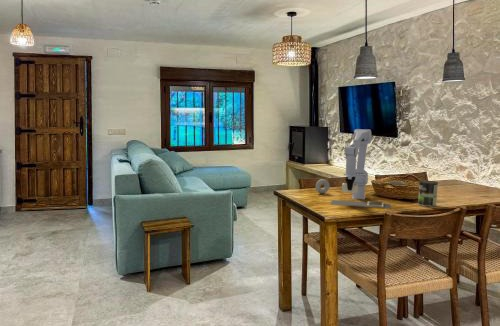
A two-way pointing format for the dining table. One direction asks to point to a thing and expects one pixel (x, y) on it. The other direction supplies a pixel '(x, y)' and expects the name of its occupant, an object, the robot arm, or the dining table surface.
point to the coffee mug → (397, 183)
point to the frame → (374, 205)
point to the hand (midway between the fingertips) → (350, 189)
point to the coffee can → (427, 193)
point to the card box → (354, 190)
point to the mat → (358, 204)
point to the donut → (318, 186)
